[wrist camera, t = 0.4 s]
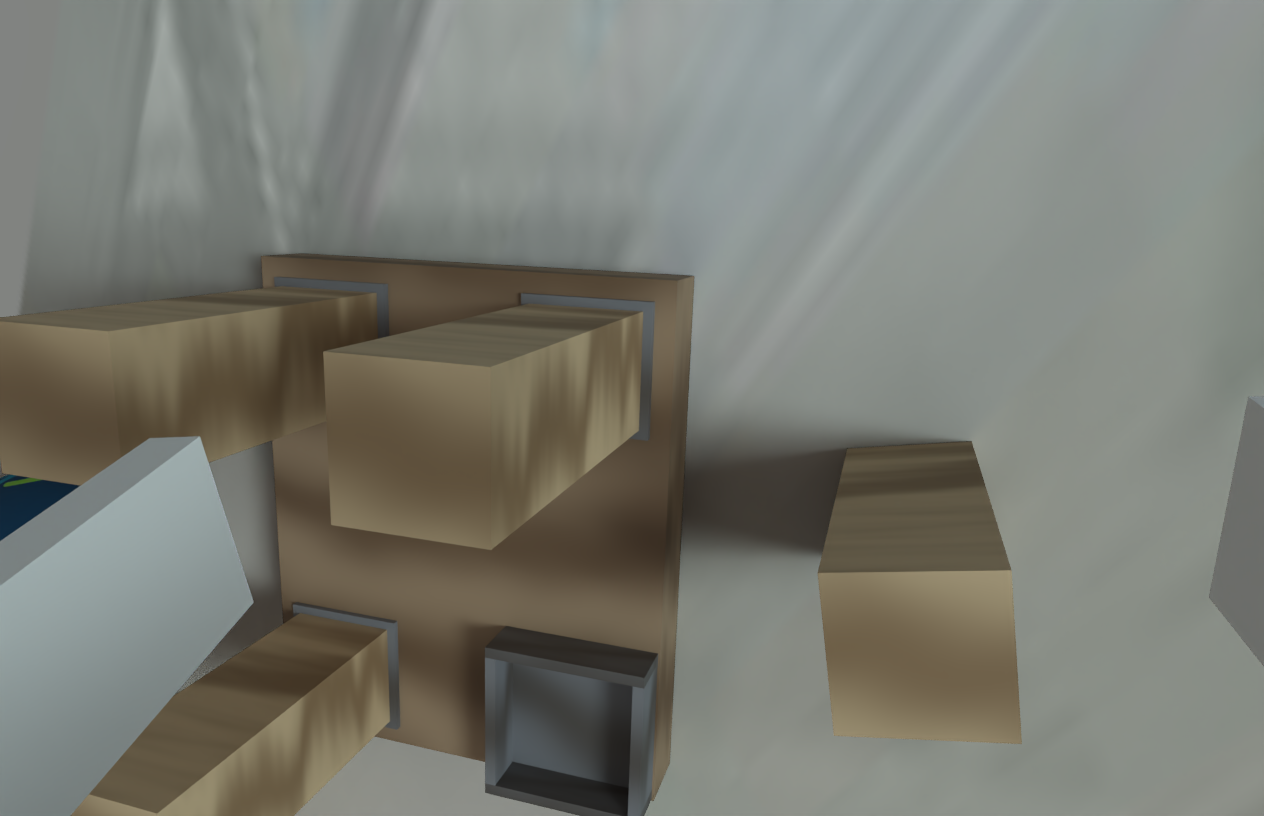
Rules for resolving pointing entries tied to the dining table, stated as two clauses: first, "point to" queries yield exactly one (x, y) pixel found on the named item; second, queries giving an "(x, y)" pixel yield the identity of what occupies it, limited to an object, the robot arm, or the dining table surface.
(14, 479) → the christmas ornament
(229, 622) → the robot arm
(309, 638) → the tan post-studded fixture
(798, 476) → the dining table surface
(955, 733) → the stool leg
